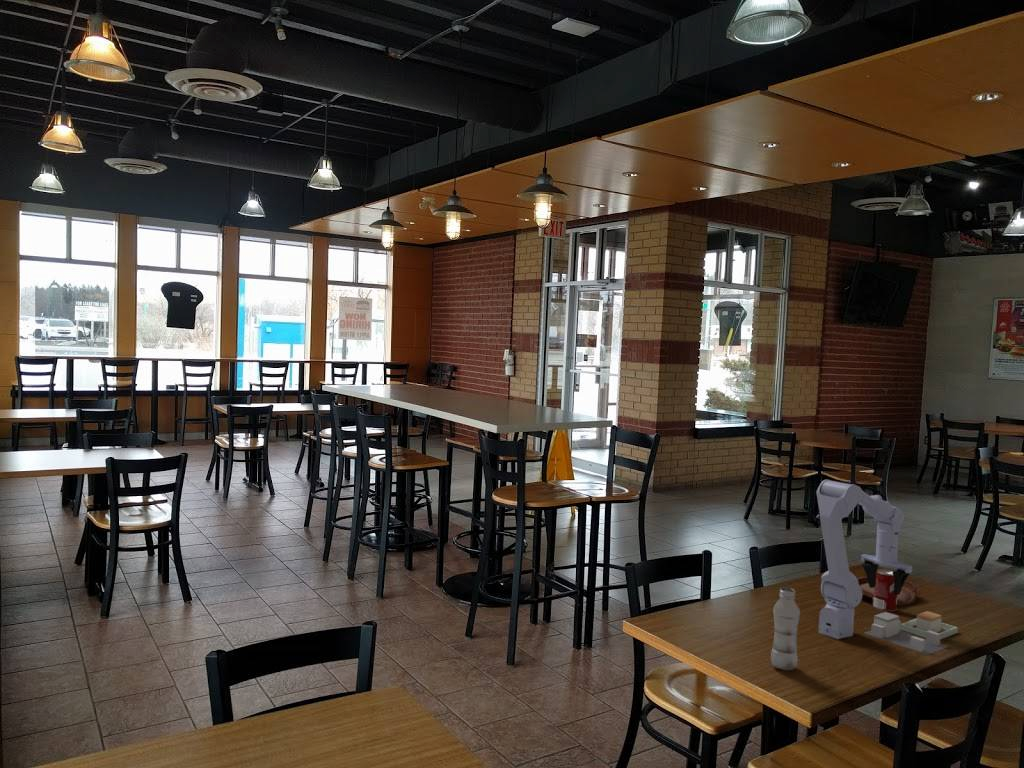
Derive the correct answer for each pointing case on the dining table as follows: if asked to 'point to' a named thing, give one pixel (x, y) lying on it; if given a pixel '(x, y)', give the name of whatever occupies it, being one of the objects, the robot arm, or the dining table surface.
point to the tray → (908, 627)
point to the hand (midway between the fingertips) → (884, 590)
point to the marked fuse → (929, 622)
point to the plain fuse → (888, 623)
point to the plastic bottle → (785, 631)
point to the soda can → (884, 591)
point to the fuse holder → (910, 639)
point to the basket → (903, 598)
